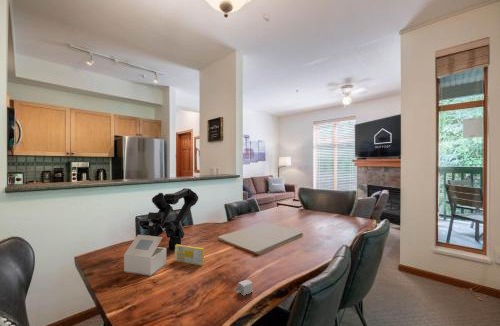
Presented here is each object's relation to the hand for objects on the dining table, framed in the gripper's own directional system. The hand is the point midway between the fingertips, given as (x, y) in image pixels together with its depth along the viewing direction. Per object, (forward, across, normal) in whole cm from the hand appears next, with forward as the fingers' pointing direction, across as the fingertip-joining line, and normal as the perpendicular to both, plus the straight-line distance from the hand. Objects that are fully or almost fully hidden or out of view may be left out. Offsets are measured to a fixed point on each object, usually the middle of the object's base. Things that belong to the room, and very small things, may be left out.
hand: (149, 241), depth 112 cm
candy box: (+3, +17, +14) cm, 22 cm away
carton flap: (+3, 0, -2) cm, 4 cm away
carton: (+10, 0, +7) cm, 12 cm away
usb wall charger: (+16, +50, +1) cm, 53 cm away
